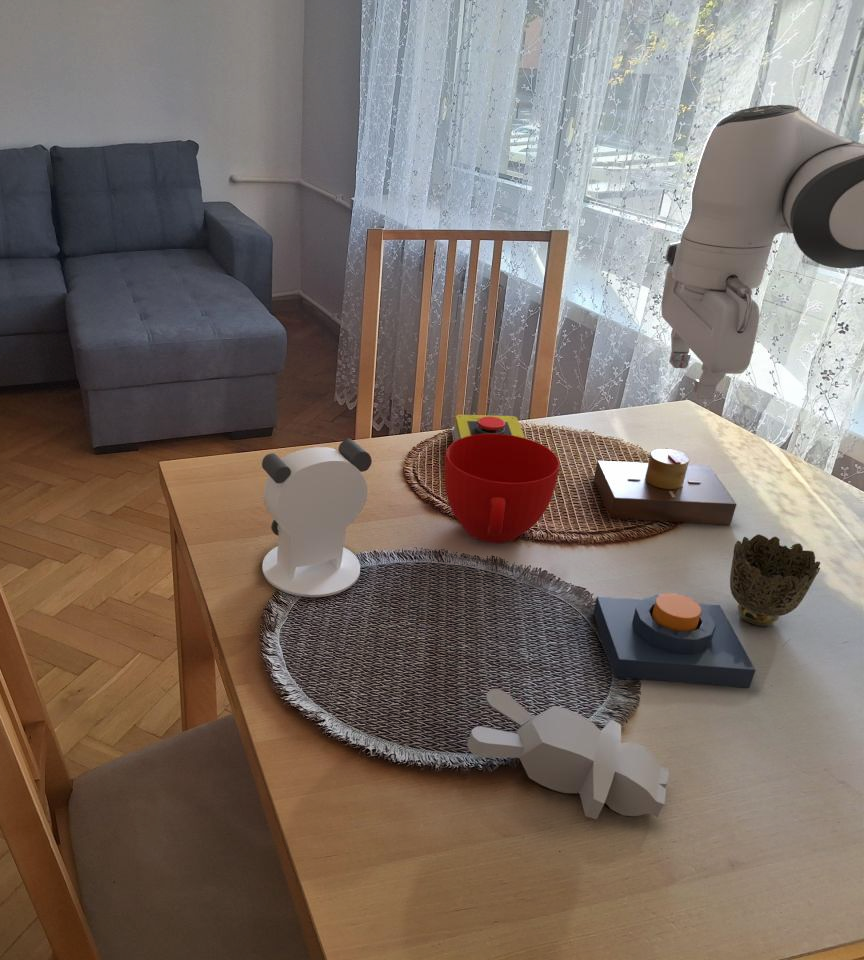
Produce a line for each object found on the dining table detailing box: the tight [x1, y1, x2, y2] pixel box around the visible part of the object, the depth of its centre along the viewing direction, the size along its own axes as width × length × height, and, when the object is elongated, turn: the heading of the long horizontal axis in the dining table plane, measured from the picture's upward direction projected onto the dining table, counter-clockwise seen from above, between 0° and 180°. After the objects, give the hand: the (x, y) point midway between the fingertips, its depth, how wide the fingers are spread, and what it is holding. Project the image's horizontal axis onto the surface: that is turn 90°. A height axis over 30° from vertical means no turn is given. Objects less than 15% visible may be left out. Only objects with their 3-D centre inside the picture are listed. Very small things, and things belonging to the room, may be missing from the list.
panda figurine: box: [261, 438, 373, 598], centre depth 97 cm, size 12×11×15 cm
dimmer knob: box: [645, 448, 690, 489], centre depth 108 cm, size 4×4×4 cm
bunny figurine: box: [466, 688, 670, 820], centre depth 71 cm, size 10×5×15 cm
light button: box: [652, 592, 701, 632], centre depth 84 cm, size 4×4×2 cm
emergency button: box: [451, 414, 526, 442], centre depth 123 cm, size 9×4×15 cm
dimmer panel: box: [593, 460, 737, 526], centre depth 110 cm, size 14×10×3 cm
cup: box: [729, 533, 821, 627], centre depth 88 cm, size 8×7×8 cm
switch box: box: [592, 594, 756, 689], centre depth 85 cm, size 12×10×4 cm
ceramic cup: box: [444, 434, 561, 544], centre depth 102 cm, size 13×17×10 cm
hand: (689, 380), depth 102 cm, fingers open, 8 cm apart
